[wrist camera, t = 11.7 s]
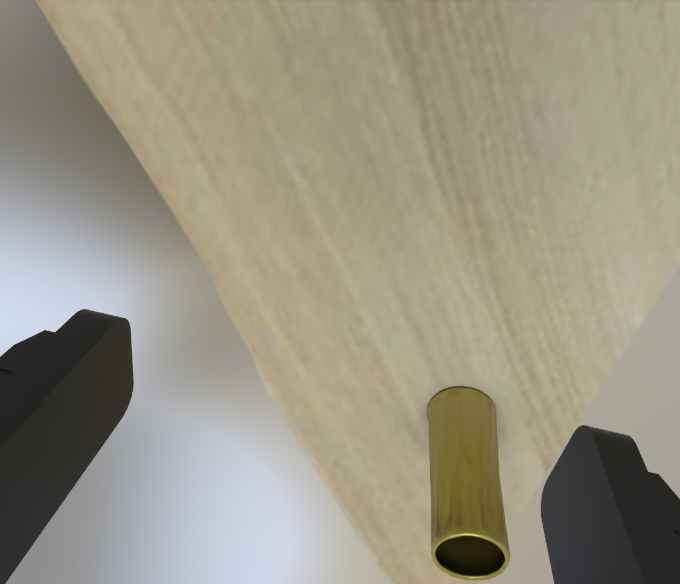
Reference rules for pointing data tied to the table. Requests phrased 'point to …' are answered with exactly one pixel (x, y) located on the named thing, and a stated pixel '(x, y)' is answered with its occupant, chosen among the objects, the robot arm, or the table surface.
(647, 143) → the table surface
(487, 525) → the vase
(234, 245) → the table surface
